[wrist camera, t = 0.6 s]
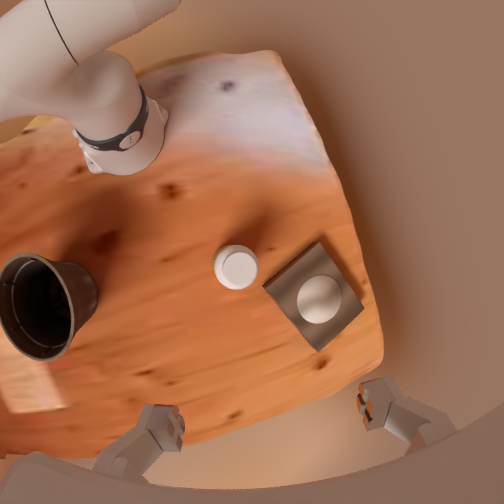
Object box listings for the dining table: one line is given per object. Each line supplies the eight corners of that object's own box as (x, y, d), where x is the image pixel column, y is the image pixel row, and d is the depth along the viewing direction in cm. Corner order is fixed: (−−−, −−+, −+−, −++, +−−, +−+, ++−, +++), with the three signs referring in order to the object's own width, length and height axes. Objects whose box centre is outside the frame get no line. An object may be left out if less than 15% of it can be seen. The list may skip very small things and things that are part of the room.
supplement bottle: (205, 270, 49) (206, 278, 36) (222, 238, 50) (230, 235, 37) (237, 288, 50) (249, 301, 38) (254, 256, 51) (272, 259, 38)
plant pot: (108, 252, 46) (70, 254, 30) (111, 336, 46) (80, 369, 30) (40, 250, 43) (-8, 251, 27) (45, 328, 43) (3, 352, 27)
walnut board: (262, 286, 51) (266, 288, 48) (313, 242, 53) (320, 242, 50) (312, 347, 53) (318, 352, 50) (357, 305, 55) (365, 308, 52)
